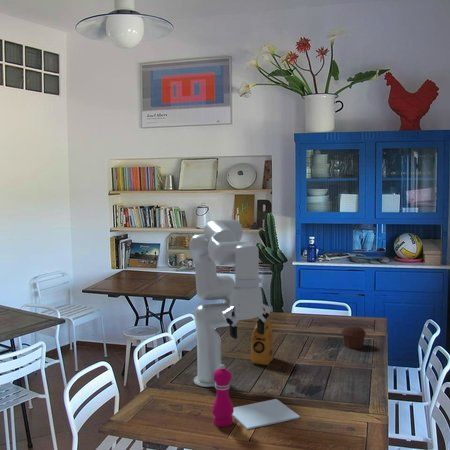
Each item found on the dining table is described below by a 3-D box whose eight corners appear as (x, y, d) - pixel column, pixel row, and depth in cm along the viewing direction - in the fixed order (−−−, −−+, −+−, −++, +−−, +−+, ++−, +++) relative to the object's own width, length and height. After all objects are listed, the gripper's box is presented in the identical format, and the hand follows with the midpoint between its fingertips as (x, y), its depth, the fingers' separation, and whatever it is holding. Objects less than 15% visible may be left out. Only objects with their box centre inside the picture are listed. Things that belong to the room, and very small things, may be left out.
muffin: (363, 342, 261) (364, 323, 260) (367, 349, 250) (367, 329, 249) (339, 342, 262) (339, 322, 261) (342, 349, 251) (342, 329, 250)
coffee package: (247, 364, 232) (247, 315, 231) (254, 355, 244) (254, 308, 242) (269, 366, 229) (269, 316, 228) (275, 357, 241) (275, 310, 239)
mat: (226, 410, 185) (226, 408, 185) (276, 400, 193) (276, 398, 193) (247, 429, 170) (247, 427, 170) (299, 417, 178) (299, 416, 178)
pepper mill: (233, 417, 179) (232, 360, 178) (234, 427, 172) (233, 367, 170) (212, 418, 179) (211, 360, 177) (212, 427, 172) (211, 368, 170)
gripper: (264, 278, 175) (264, 329, 176) (217, 283, 167) (218, 336, 169) (276, 282, 168) (276, 335, 169) (227, 287, 160) (228, 342, 162)
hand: (247, 335), depth 169 cm, fingers open, 9 cm apart
